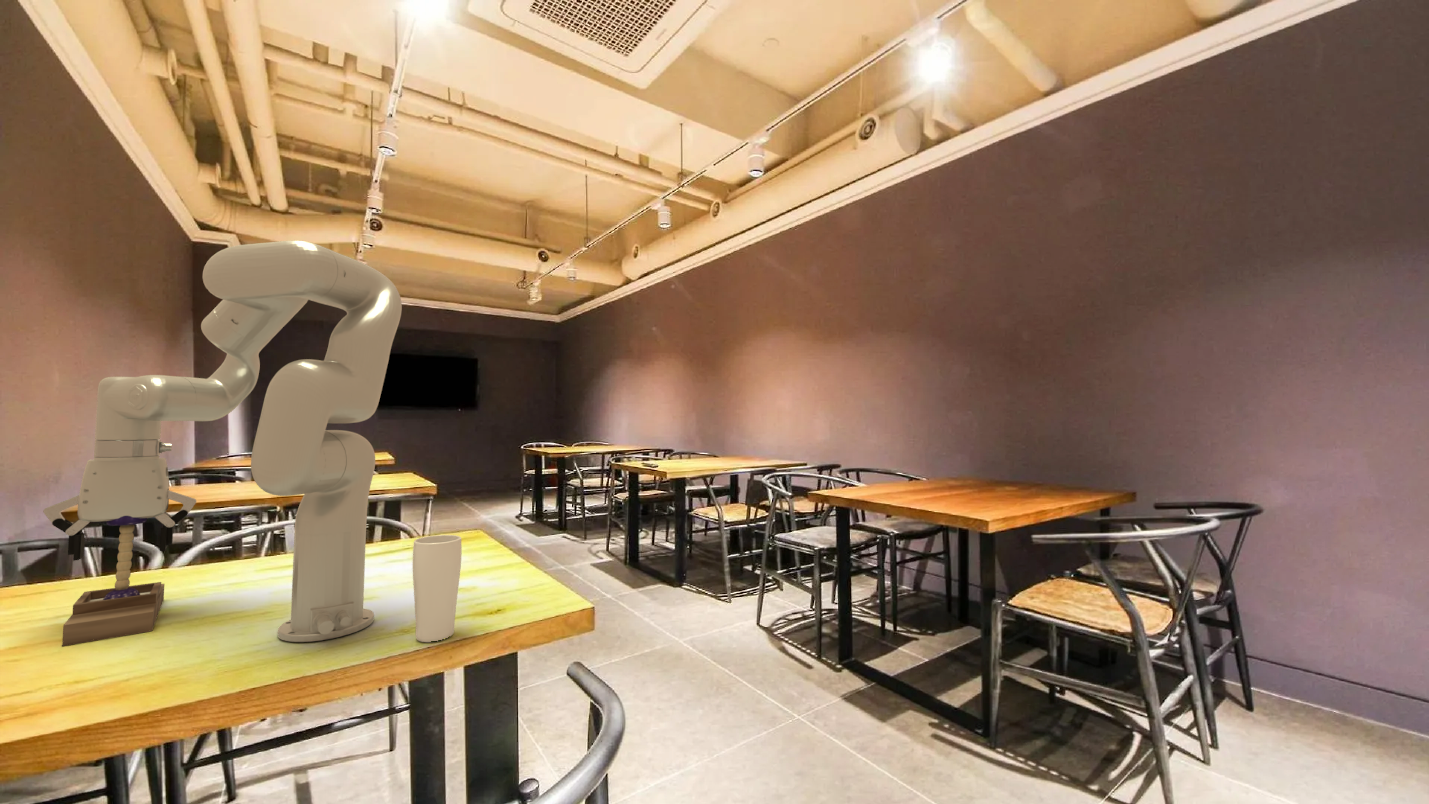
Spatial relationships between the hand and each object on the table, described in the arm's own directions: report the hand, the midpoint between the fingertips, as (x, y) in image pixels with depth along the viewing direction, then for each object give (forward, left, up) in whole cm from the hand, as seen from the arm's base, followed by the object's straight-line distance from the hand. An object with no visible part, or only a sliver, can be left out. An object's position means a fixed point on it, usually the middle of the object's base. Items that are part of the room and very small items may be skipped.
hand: (122, 554), depth 91 cm
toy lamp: (0, 0, -8) cm, 8 cm away
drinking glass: (-41, -38, -11) cm, 57 cm away
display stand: (0, 0, -11) cm, 11 cm away
